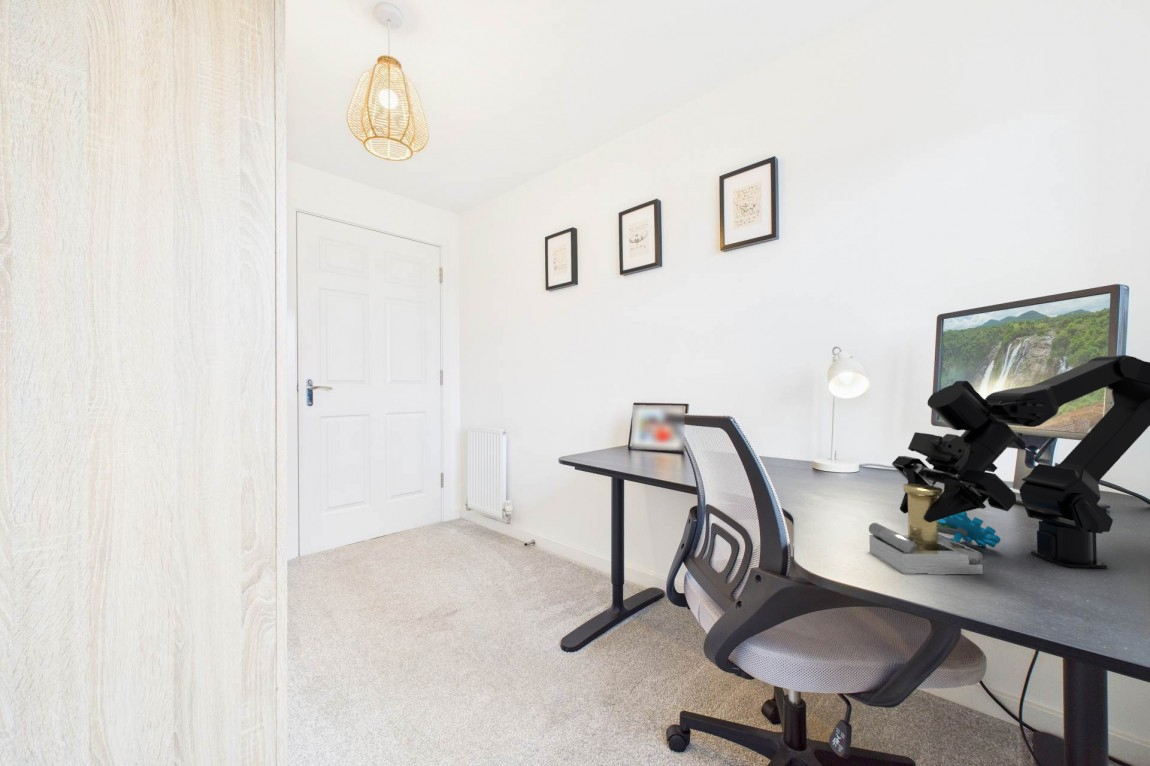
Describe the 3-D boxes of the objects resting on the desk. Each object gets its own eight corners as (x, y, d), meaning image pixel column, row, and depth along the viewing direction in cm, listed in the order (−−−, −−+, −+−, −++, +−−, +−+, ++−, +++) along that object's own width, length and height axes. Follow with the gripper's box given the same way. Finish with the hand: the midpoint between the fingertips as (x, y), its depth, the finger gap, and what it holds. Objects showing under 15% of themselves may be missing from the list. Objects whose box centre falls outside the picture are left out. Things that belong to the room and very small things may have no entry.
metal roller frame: (940, 553, 79) (939, 523, 79) (983, 575, 70) (982, 540, 70) (869, 552, 80) (868, 522, 80) (903, 573, 71) (902, 539, 71)
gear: (1016, 546, 78) (975, 506, 78) (1000, 573, 77) (958, 532, 77) (955, 535, 89) (919, 500, 89) (939, 558, 88) (903, 522, 88)
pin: (936, 561, 77) (936, 485, 77) (947, 572, 72) (947, 491, 72) (900, 556, 79) (899, 482, 79) (908, 567, 74) (908, 488, 74)
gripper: (900, 413, 85) (845, 472, 84) (996, 420, 66) (925, 496, 66) (942, 453, 85) (886, 513, 85) (1048, 472, 66) (978, 548, 66)
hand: (913, 515), depth 75 cm, fingers open, 5 cm apart
